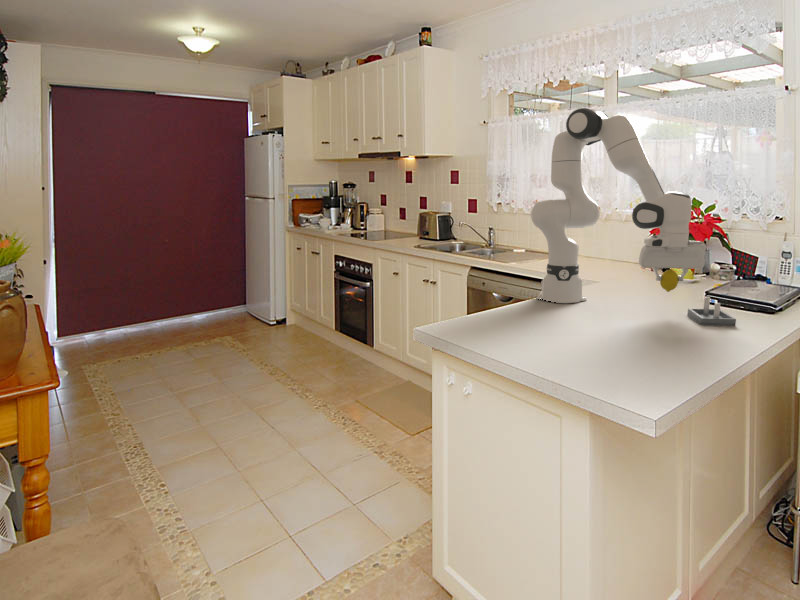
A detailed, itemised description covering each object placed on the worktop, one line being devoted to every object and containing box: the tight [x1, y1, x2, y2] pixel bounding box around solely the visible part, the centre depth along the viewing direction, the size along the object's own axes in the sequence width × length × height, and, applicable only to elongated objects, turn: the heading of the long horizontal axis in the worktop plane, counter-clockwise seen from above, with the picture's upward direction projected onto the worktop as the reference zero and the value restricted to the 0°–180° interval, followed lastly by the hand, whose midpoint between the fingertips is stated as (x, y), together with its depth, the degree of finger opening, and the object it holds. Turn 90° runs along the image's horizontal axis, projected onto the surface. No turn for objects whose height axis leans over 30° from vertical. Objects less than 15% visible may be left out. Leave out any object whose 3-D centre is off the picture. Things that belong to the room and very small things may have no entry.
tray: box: [686, 296, 737, 327], centre depth 181 cm, size 14×10×7 cm
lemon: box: [659, 268, 679, 293], centre depth 190 cm, size 6×6×8 cm
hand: (669, 280), depth 190 cm, fingers closed on lemon, 6 cm apart
